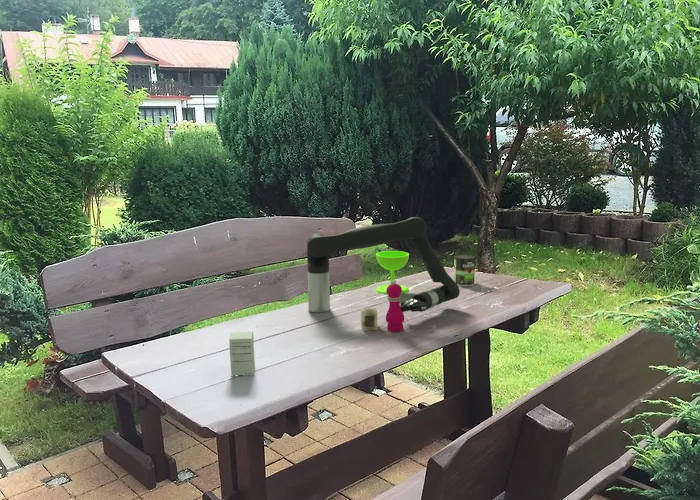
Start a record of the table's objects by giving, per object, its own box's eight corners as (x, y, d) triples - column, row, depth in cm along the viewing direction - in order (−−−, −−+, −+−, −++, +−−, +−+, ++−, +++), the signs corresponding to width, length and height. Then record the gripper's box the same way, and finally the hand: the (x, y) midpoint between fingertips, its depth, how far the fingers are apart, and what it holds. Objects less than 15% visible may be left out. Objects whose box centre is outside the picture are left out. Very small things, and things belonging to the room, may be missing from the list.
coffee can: (478, 285, 306) (479, 257, 304) (460, 287, 303) (461, 259, 300) (467, 280, 316) (468, 253, 313) (449, 282, 312) (450, 255, 309)
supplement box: (232, 368, 204) (230, 331, 202) (255, 367, 205) (253, 330, 203) (230, 376, 197) (228, 339, 195) (253, 375, 198) (252, 338, 195)
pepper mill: (403, 332, 237) (401, 283, 232) (384, 332, 238) (383, 283, 233) (405, 325, 244) (404, 277, 238) (387, 325, 245) (386, 277, 240)
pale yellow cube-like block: (362, 330, 240) (361, 313, 239) (361, 325, 247) (361, 308, 245) (377, 330, 240) (377, 313, 239) (376, 325, 247) (376, 308, 245)
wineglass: (415, 291, 297) (416, 254, 294) (389, 296, 288) (389, 258, 285) (395, 284, 310) (395, 249, 307) (369, 289, 301) (369, 253, 298)
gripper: (412, 289, 258) (386, 297, 245) (438, 294, 249) (413, 303, 237) (412, 306, 259) (386, 315, 247) (438, 312, 251) (413, 322, 238)
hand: (399, 309), depth 242 cm, fingers closed
